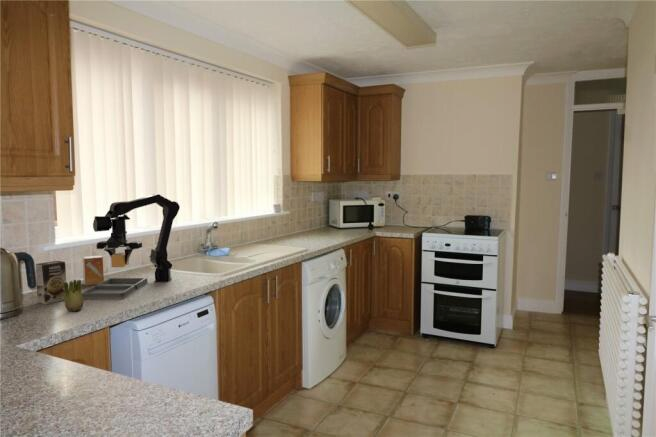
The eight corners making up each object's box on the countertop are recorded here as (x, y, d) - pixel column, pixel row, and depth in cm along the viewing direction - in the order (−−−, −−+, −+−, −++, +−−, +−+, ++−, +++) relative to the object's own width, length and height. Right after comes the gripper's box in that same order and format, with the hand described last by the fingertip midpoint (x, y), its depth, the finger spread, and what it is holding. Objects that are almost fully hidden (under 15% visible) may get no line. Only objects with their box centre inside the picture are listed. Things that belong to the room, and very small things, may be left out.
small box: (85, 286, 220) (83, 258, 219) (83, 283, 225) (82, 256, 224) (104, 283, 225) (103, 256, 223) (102, 281, 230) (100, 254, 229)
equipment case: (147, 282, 227) (147, 277, 226) (136, 290, 213) (136, 284, 213) (109, 283, 226) (109, 277, 226) (96, 290, 212) (95, 284, 212)
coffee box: (45, 304, 190) (42, 265, 188) (37, 302, 193) (34, 263, 191) (67, 299, 197) (65, 261, 196) (59, 297, 201) (57, 260, 199)
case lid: (136, 290, 213) (136, 284, 213) (123, 299, 198) (122, 293, 198) (96, 290, 212) (95, 284, 212) (79, 299, 197) (79, 293, 197)
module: (128, 264, 221) (128, 252, 220) (122, 267, 214) (122, 254, 213) (118, 264, 221) (117, 252, 220) (111, 267, 214) (111, 254, 213)
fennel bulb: (64, 313, 179) (62, 282, 177) (68, 309, 183) (66, 279, 182) (81, 312, 180) (79, 281, 179) (84, 308, 185) (83, 278, 183)
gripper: (89, 232, 207) (91, 267, 209) (132, 232, 208) (133, 267, 209) (101, 229, 218) (102, 262, 220) (142, 229, 219) (143, 262, 220)
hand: (120, 263), depth 217 cm, fingers closed on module, 5 cm apart
